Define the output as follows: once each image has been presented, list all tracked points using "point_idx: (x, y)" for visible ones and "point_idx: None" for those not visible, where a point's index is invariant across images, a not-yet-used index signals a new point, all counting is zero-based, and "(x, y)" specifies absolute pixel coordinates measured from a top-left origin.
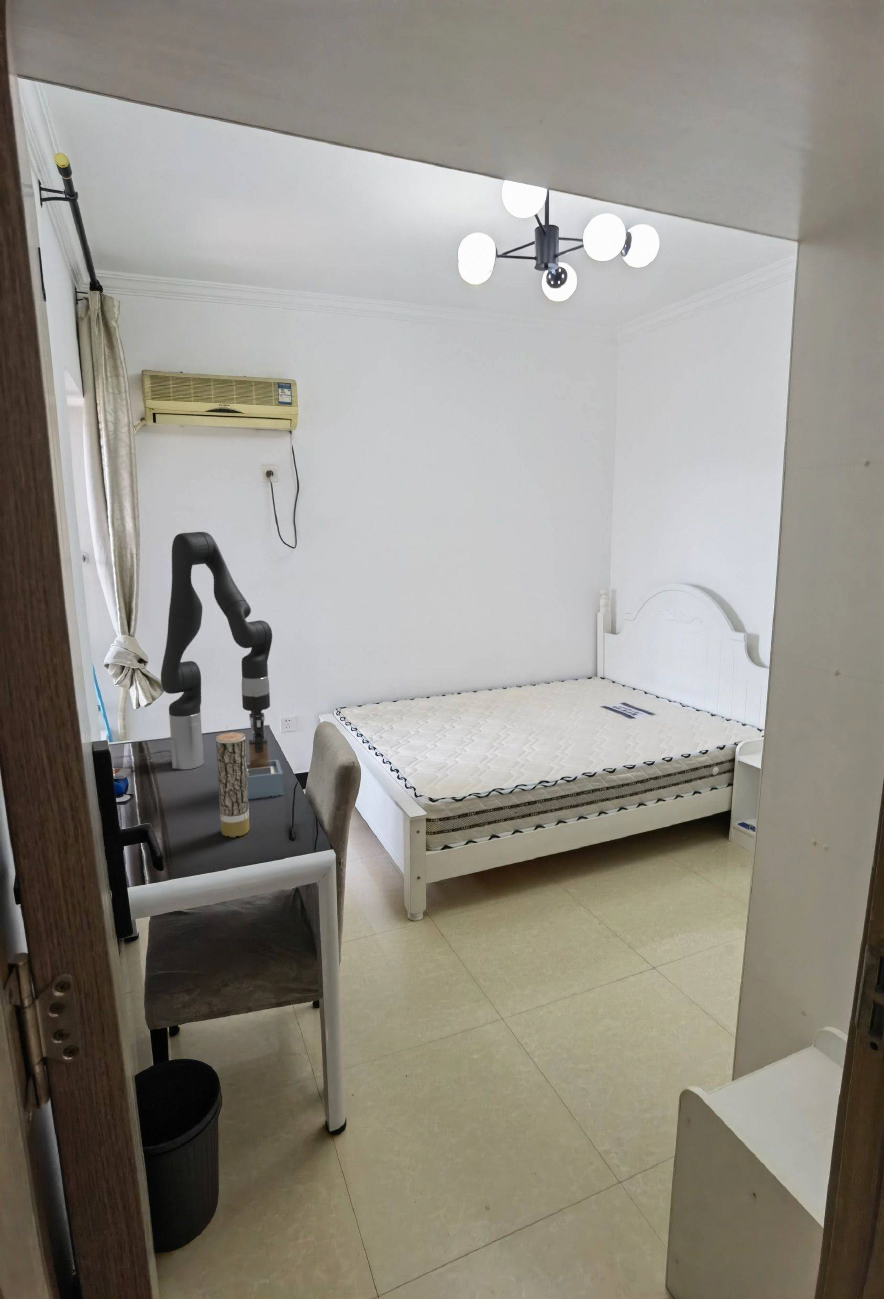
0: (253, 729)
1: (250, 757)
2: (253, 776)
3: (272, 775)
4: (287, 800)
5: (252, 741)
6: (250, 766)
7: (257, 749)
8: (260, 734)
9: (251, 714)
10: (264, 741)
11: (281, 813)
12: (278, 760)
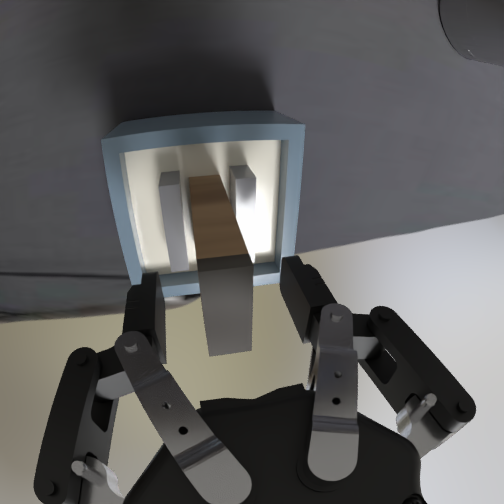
0: (143, 404)
1: (192, 217)
2: (115, 202)
3: (128, 267)
4: (105, 262)
5: (212, 290)
6: (190, 194)
7: (127, 298)
8: (299, 334)
9: (318, 484)
10: (207, 343)
11: (28, 249)
12: (279, 282)
